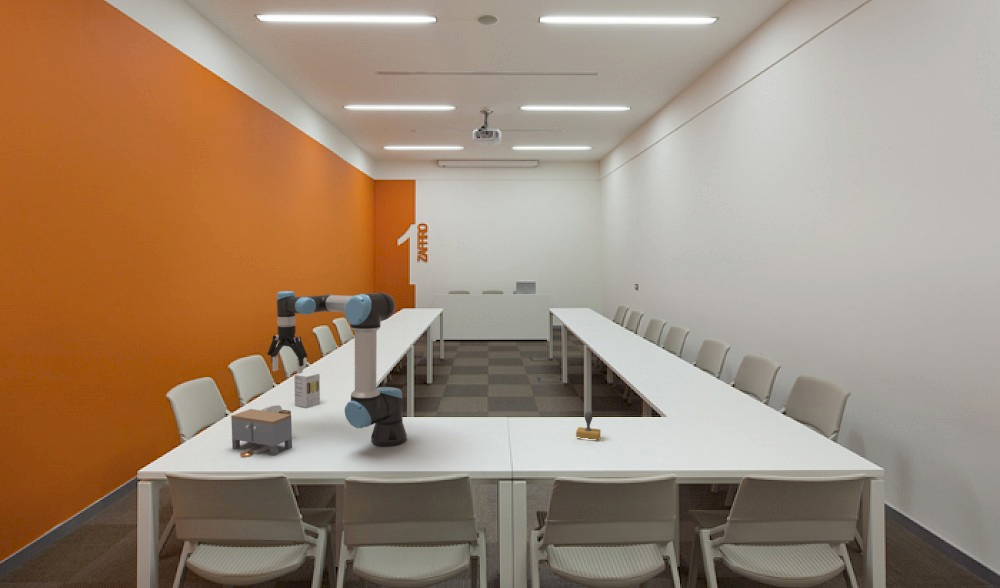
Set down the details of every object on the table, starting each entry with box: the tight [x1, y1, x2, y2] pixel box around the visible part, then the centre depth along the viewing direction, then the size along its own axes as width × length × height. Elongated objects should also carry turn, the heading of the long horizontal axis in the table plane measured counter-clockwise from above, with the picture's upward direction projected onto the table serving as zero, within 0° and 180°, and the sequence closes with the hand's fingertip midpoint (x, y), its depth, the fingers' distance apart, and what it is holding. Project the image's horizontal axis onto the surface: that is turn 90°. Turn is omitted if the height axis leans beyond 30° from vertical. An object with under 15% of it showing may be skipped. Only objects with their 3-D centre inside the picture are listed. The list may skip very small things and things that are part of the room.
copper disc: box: [239, 451, 253, 458], centre depth 211 cm, size 4×4×1 cm
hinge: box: [261, 404, 283, 413], centre depth 248 cm, size 17×5×10 cm, turn 169°
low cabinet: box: [230, 408, 293, 457], centre depth 218 cm, size 22×11×14 cm, turn 69°
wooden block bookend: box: [244, 409, 292, 455], centre depth 222 cm, size 6×20×12 cm, turn 159°
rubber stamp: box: [575, 411, 601, 441], centre depth 232 cm, size 10×6×12 cm, turn 72°
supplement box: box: [293, 371, 321, 409], centre depth 281 cm, size 10×9×17 cm
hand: (287, 371), depth 239 cm, fingers open, 13 cm apart
